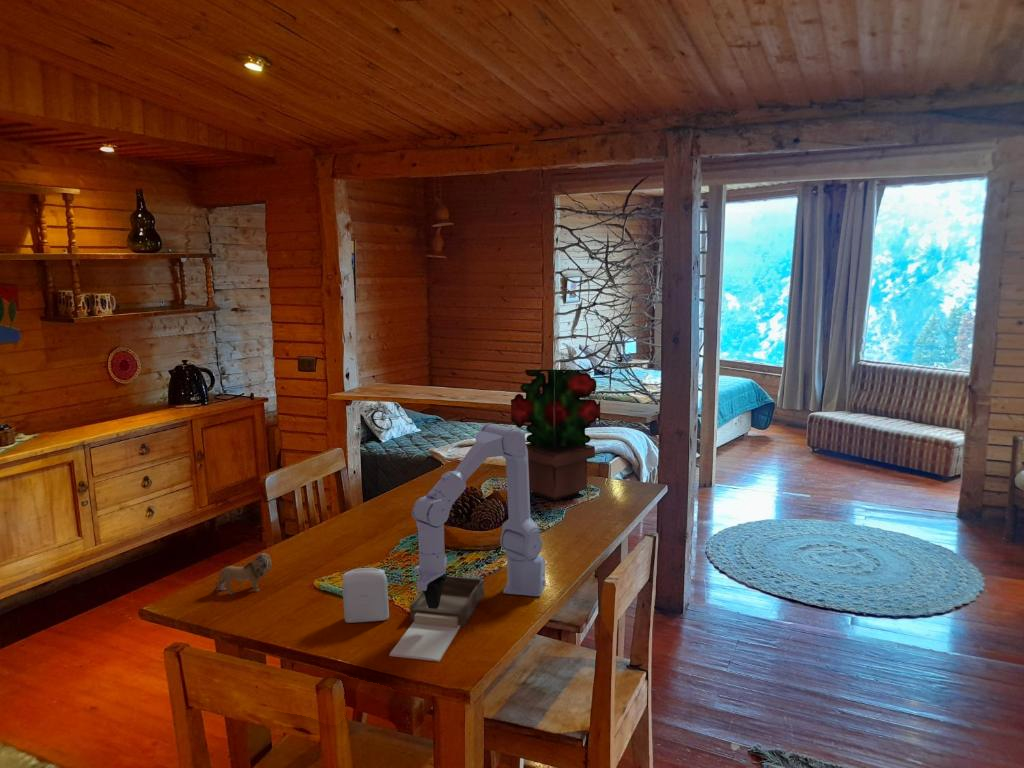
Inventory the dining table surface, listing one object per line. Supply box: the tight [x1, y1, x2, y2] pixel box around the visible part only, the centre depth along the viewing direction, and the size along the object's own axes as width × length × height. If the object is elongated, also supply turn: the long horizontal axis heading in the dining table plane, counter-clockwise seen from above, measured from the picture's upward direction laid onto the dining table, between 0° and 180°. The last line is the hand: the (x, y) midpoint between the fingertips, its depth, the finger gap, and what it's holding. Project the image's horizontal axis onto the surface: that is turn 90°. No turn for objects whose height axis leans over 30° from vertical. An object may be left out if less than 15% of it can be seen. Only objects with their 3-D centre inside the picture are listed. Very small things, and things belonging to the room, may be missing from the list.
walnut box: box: [409, 575, 485, 628], centre depth 175 cm, size 17×13×4 cm
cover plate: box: [389, 612, 461, 662], centre depth 160 cm, size 15×11×3 cm
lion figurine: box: [211, 552, 273, 595], centre depth 186 cm, size 15×5×9 cm, turn 110°
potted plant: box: [510, 367, 601, 502], centre depth 257 cm, size 22×22×45 cm
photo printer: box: [341, 567, 390, 624], centre depth 169 cm, size 10×4×12 cm, turn 96°
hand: (433, 607), depth 164 cm, fingers closed
